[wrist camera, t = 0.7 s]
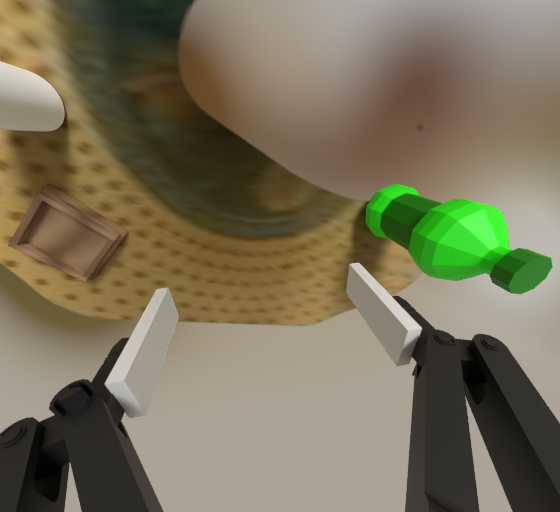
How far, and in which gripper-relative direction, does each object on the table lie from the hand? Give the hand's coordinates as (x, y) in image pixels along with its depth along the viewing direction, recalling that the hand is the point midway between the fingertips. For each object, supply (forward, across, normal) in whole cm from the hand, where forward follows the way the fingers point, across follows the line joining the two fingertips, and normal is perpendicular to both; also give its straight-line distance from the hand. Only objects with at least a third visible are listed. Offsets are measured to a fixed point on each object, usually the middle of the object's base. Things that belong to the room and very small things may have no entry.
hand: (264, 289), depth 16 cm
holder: (+25, -29, -3) cm, 39 cm away
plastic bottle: (+25, +25, -3) cm, 36 cm away
